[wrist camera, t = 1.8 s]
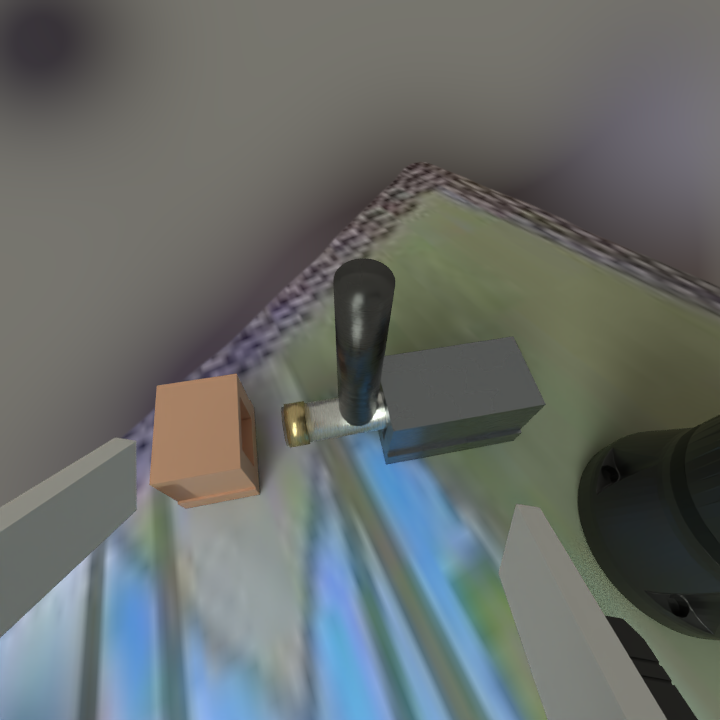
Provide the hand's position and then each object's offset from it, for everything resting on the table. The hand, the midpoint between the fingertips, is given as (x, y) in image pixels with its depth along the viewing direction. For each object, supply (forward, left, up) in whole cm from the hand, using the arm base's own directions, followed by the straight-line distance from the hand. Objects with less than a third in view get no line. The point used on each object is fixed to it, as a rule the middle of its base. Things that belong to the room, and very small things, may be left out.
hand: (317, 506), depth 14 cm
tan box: (+8, -10, -20) cm, 24 cm away
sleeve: (-12, -10, -20) cm, 25 cm away
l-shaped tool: (-8, -10, -18) cm, 22 cm away
